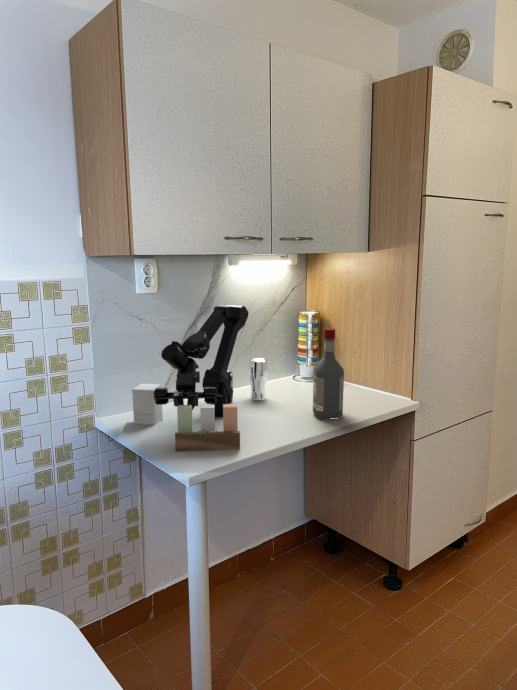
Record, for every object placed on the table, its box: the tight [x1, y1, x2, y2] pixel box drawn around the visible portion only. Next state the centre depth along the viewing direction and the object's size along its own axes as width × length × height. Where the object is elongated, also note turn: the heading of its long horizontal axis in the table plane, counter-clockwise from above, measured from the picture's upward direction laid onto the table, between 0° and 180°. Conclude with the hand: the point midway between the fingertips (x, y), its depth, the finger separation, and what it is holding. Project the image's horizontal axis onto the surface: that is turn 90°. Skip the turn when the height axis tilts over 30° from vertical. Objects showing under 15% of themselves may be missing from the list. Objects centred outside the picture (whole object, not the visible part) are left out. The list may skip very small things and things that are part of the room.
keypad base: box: [174, 429, 241, 452], centre depth 154 cm, size 8×18×6 cm, turn 95°
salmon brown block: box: [222, 403, 239, 431], centre depth 156 cm, size 3×4×11 cm
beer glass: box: [248, 357, 268, 402], centre depth 203 cm, size 7×7×15 cm
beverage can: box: [227, 368, 234, 404], centre depth 199 cm, size 7×7×12 cm
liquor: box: [312, 327, 345, 420], centre depth 181 cm, size 9×9×30 cm
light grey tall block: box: [199, 404, 216, 432], centre depth 155 cm, size 3×4×11 cm
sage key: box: [176, 404, 193, 432], centre depth 155 cm, size 3×4×11 cm
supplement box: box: [131, 383, 164, 426], centre depth 174 cm, size 7×7×13 cm
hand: (185, 421), depth 158 cm, fingers closed
